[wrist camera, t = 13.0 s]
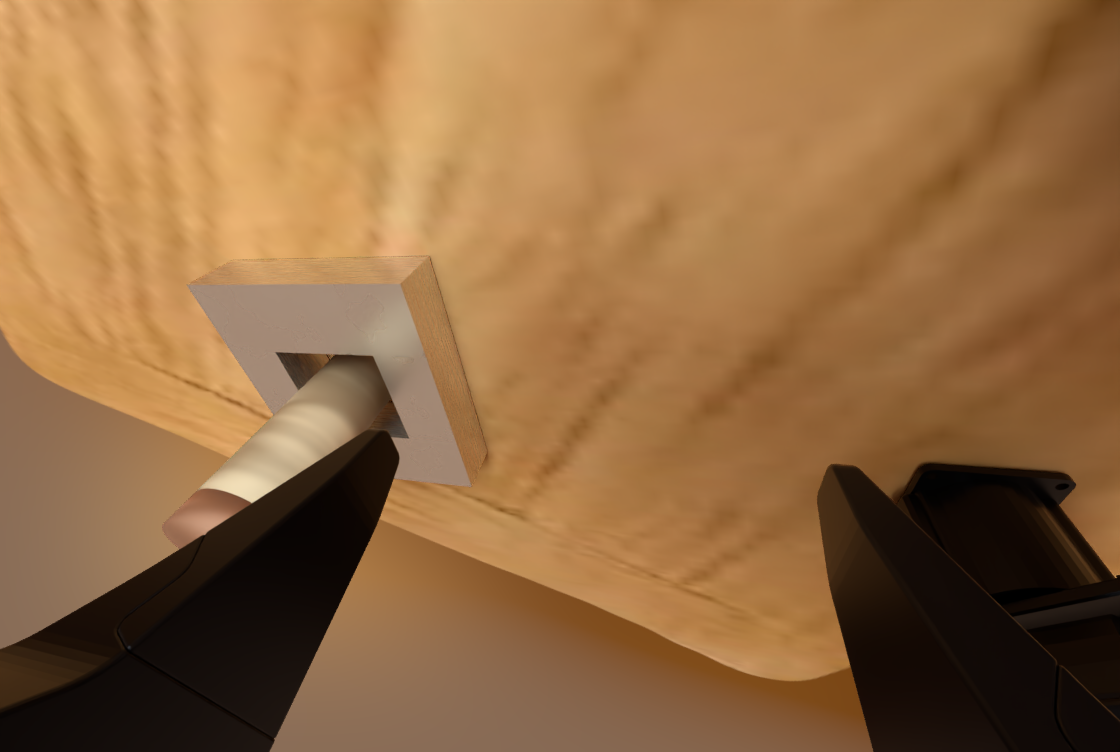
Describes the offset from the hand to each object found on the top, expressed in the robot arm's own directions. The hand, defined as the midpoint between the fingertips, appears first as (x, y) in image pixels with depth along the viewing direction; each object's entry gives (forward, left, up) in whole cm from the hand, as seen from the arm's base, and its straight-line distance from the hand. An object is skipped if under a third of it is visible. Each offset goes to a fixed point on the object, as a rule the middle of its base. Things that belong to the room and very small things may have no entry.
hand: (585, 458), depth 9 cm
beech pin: (+16, +8, -13) cm, 22 cm away
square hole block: (+16, +8, -13) cm, 22 cm away
